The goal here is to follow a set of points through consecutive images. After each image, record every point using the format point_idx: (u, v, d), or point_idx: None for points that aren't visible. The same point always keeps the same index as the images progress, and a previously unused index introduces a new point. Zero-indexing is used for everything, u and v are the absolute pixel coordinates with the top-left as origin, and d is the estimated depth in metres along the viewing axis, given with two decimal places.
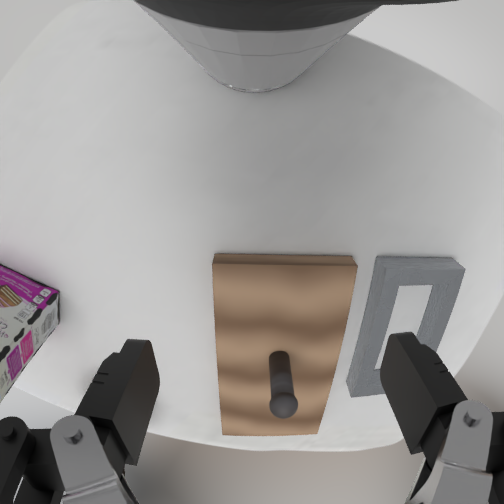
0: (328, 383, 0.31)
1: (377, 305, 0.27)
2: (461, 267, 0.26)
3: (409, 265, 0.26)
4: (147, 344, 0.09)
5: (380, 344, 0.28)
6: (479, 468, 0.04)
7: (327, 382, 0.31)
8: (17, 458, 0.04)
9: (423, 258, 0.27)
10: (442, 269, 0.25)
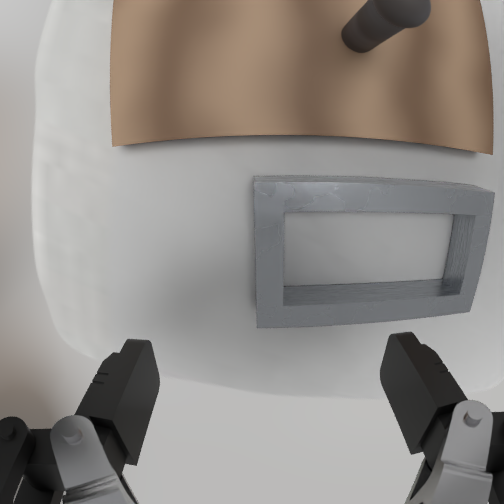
0: (290, 127, 0.16)
1: (455, 188, 0.16)
2: None
3: None
4: (147, 344, 0.09)
5: (391, 208, 0.17)
6: (479, 468, 0.04)
7: (294, 125, 0.16)
8: (18, 458, 0.04)
9: None
10: (478, 276, 0.18)
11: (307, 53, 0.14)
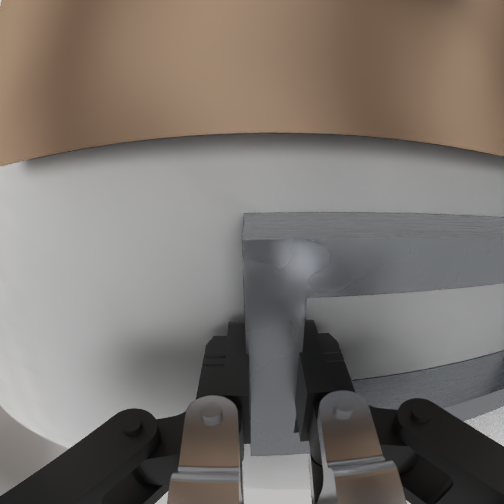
0: (323, 117, 0.07)
1: None
2: None
3: None
4: None
5: (489, 279, 0.08)
6: (375, 458, 0.05)
7: (330, 112, 0.07)
8: (130, 458, 0.05)
9: None
10: None
11: None
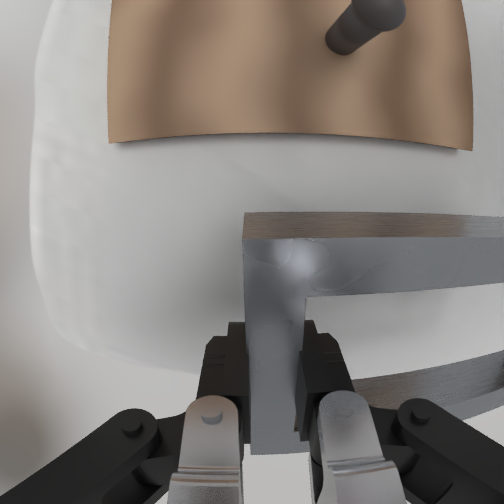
0: (276, 125, 0.17)
1: None
2: None
3: None
4: None
5: (488, 278, 0.08)
6: (375, 458, 0.05)
7: (279, 123, 0.17)
8: (131, 458, 0.05)
9: None
10: None
11: (292, 56, 0.16)
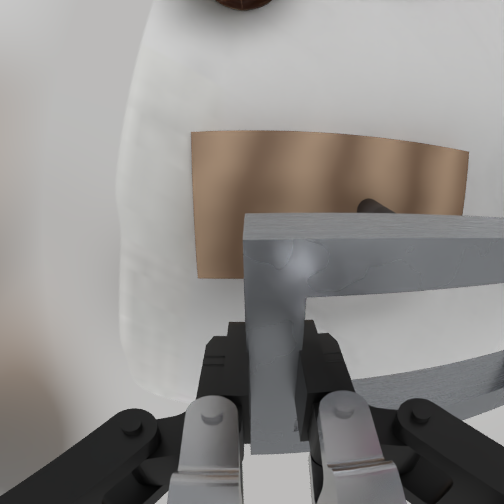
0: None
1: None
2: None
3: None
4: None
5: (487, 279, 0.08)
6: (375, 458, 0.05)
7: None
8: (131, 458, 0.05)
9: None
10: None
11: None
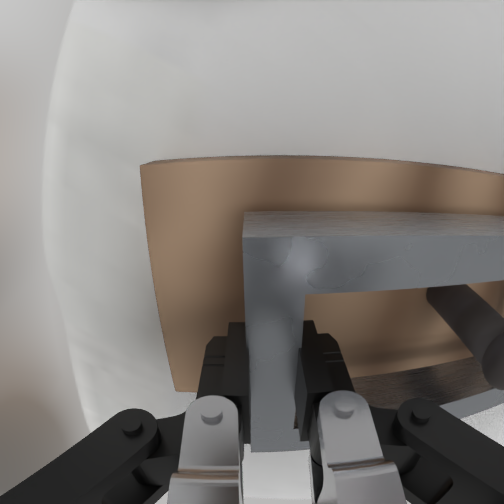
0: None
1: None
2: None
3: None
4: None
5: (485, 276, 0.08)
6: (375, 458, 0.05)
7: None
8: (131, 458, 0.05)
9: None
10: None
11: (388, 316, 0.14)
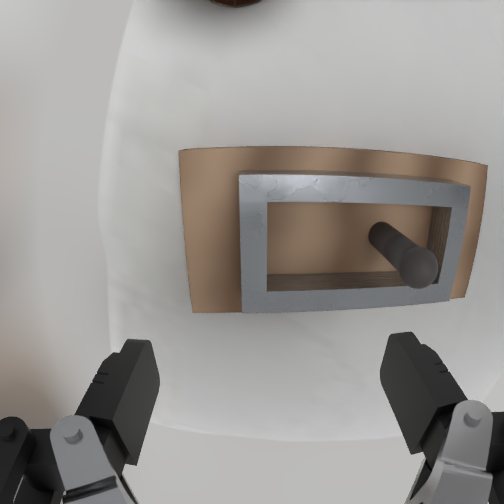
0: None
1: (430, 181, 0.18)
2: None
3: None
4: (147, 344, 0.09)
5: (368, 199, 0.18)
6: (479, 468, 0.04)
7: None
8: (17, 458, 0.04)
9: None
10: (456, 266, 0.20)
11: (341, 252, 0.22)
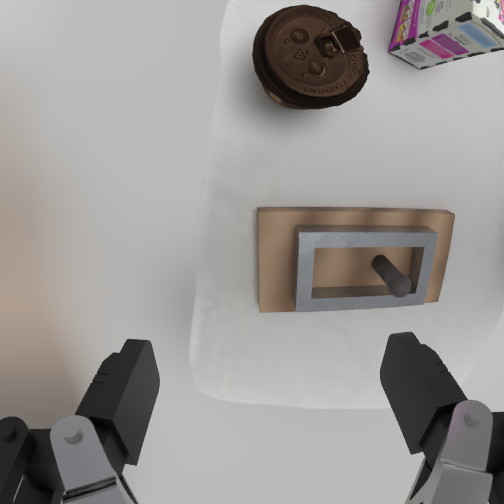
0: None
1: (411, 232, 0.31)
2: None
3: None
4: (147, 344, 0.09)
5: (372, 245, 0.31)
6: (479, 468, 0.04)
7: None
8: (17, 458, 0.04)
9: None
10: (428, 282, 0.33)
11: (355, 274, 0.35)
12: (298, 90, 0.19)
